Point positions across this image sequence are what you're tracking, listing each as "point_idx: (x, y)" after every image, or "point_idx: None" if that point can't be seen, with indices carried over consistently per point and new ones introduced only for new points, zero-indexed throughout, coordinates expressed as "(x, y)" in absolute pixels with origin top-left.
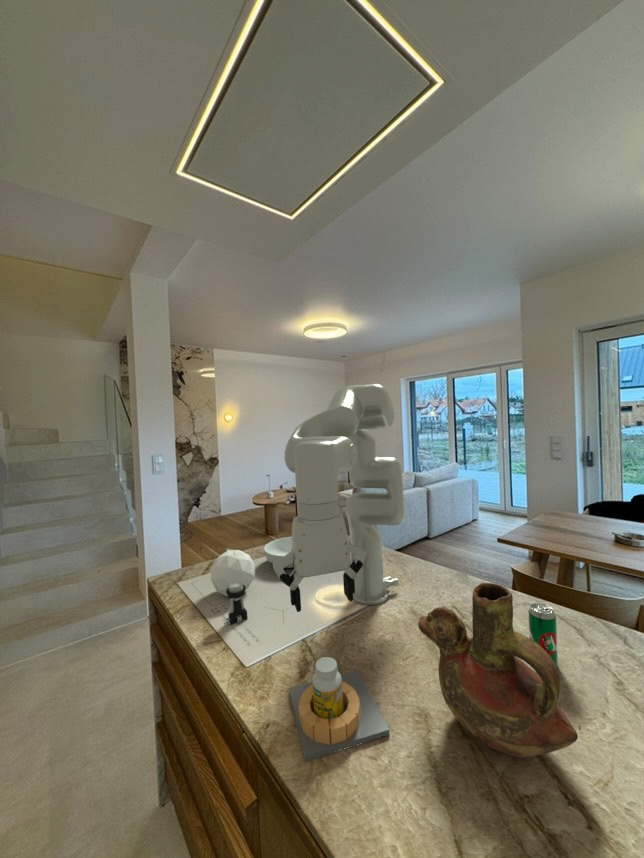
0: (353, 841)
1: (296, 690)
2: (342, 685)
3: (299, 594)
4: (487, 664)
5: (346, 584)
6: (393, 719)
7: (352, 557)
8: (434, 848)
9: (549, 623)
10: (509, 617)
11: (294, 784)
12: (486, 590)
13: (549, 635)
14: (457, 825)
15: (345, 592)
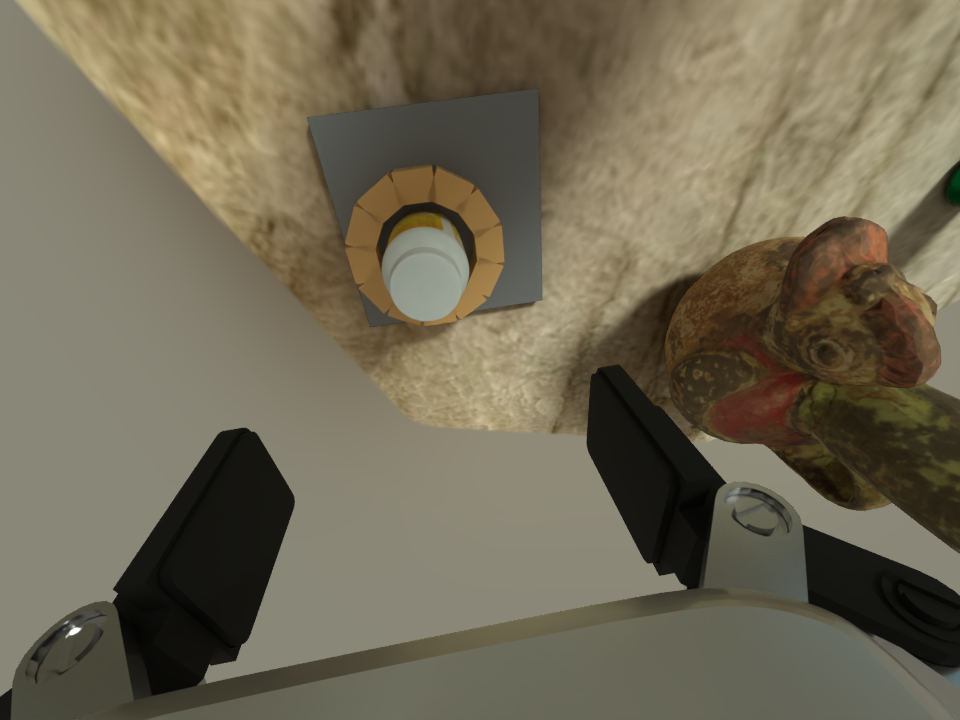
0: (438, 420)
1: (333, 136)
2: (472, 203)
3: (252, 612)
4: (800, 430)
5: (628, 492)
6: (561, 263)
7: None
8: (528, 430)
9: None
10: None
11: (354, 353)
12: None
13: None
14: (565, 416)
15: (598, 408)
